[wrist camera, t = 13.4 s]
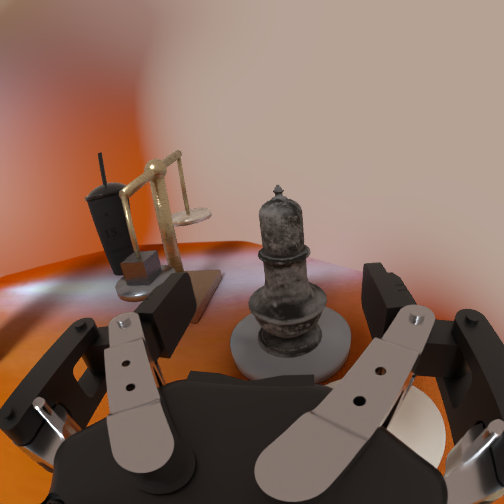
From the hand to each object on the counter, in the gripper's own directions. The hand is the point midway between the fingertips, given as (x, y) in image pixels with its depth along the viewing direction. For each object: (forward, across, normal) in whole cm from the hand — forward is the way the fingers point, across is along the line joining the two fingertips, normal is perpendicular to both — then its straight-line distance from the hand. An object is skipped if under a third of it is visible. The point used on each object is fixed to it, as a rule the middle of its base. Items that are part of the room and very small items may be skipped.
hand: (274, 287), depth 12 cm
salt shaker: (+7, 0, +9) cm, 11 cm away
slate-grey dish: (+7, 0, +10) cm, 12 cm away
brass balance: (+15, +13, +10) cm, 22 cm away
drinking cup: (+24, +28, +10) cm, 38 cm away
